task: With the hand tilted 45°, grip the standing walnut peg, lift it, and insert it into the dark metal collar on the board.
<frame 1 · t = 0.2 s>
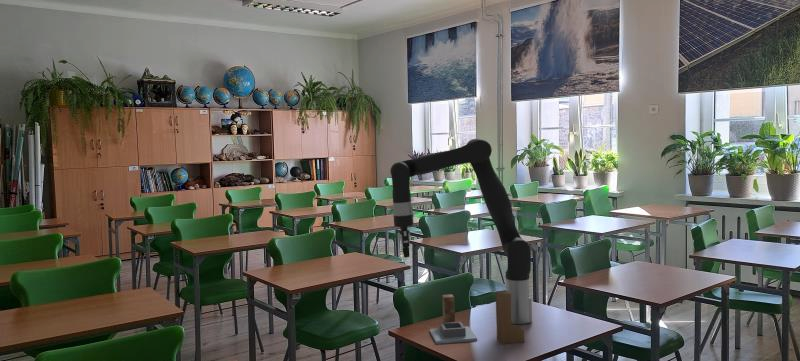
hand: (406, 255, 229), 29 cm above the table, tool pointing down, fingers open, 8 cm apart
socket board: (452, 336, 220), on the table
walnut peg: (449, 326, 232), on the table
wooden block: (510, 341, 212), on the table
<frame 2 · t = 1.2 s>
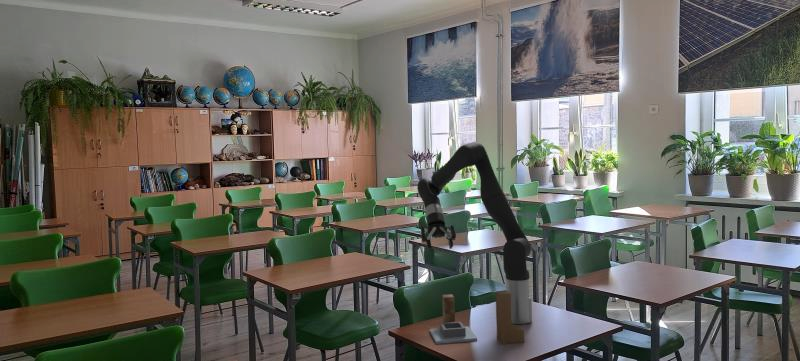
hand: (440, 248, 242), 29 cm above the table, tool tilted 45°, fingers open, 8 cm apart
nothing on the table moved.
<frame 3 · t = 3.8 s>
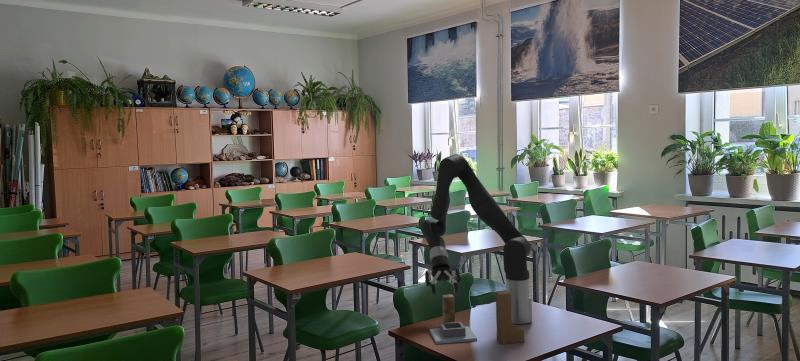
hand: (445, 293, 237), 11 cm above the table, tool tilted 45°, fingers open, 8 cm apart
nothing on the table moved.
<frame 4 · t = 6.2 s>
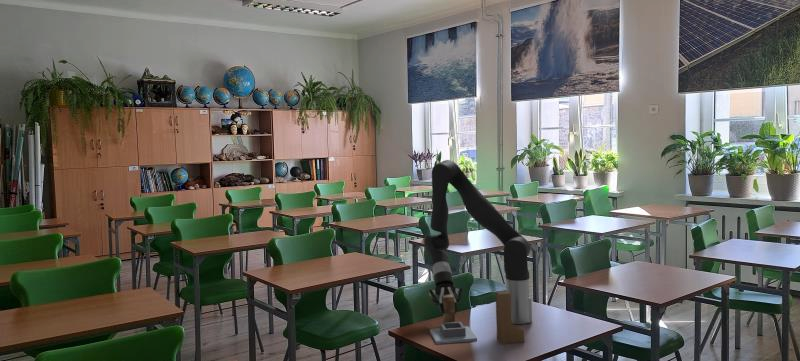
hand: (449, 312, 230), 6 cm above the table, tool tilted 45°, fingers closed on walnut peg, 4 cm apart
walnut peg: (449, 326, 232), on the table, touching gripper
everything else where it was.
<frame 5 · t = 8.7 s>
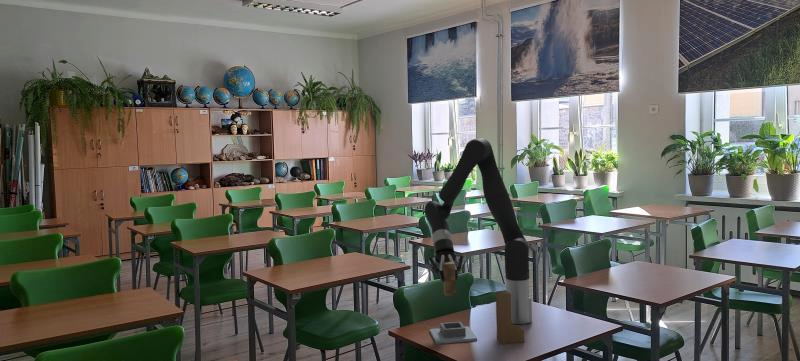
hand: (449, 280, 224), 20 cm above the table, tool tilted 45°, fingers closed on walnut peg, 4 cm apart
walnut peg: (449, 294, 225), point 14 cm above the table, touching gripper
everything else where it was.
when the fingers open (7 cm above the table, at t = 11.3 s): walnut peg stays where it is, resting on socket board.
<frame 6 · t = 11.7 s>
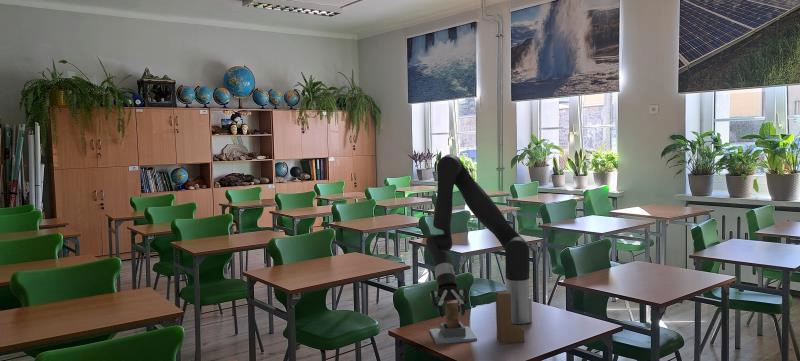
hand: (452, 315, 218), 8 cm above the table, tool tilted 45°, fingers open, 7 cm apart
walnut peg: (452, 333, 220), point 1 cm above the table, touching socket board
everything else where it was.
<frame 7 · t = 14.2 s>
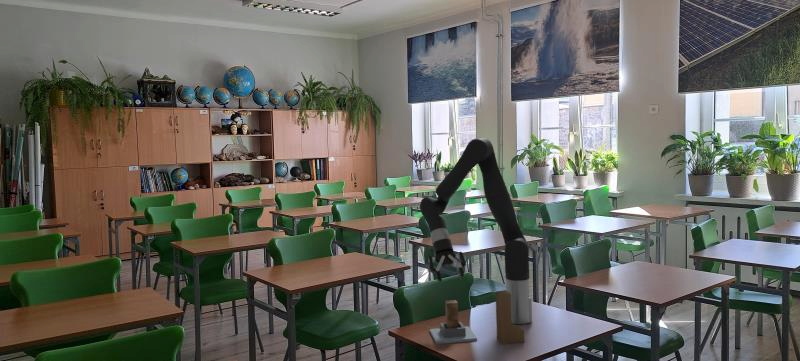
hand: (451, 279, 229), 19 cm above the table, tool tilted 35°, fingers open, 8 cm apart
nothing on the table moved.
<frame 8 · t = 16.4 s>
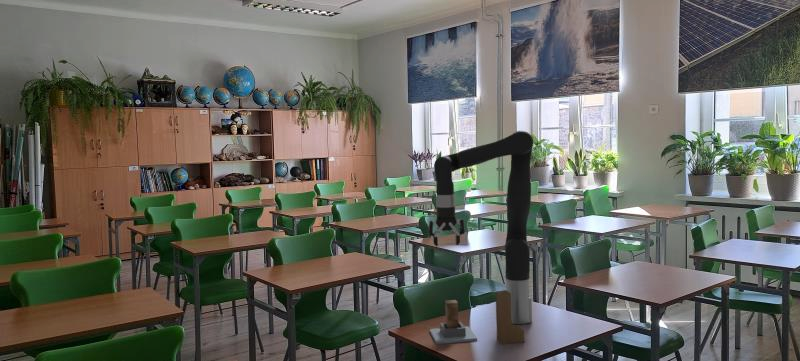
hand: (446, 245, 240), 30 cm above the table, tool pointing down, fingers open, 8 cm apart
nothing on the table moved.
at the end: walnut peg 0.1 cm off-centre on the socket board, point 1.0 cm above the socket board's base; walnut peg tilted 0°; the gripper is holding nothing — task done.
